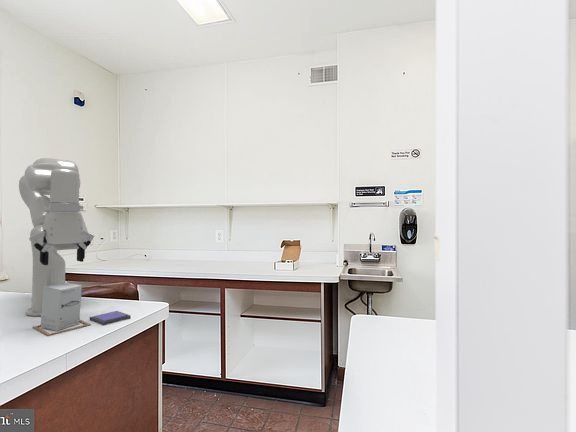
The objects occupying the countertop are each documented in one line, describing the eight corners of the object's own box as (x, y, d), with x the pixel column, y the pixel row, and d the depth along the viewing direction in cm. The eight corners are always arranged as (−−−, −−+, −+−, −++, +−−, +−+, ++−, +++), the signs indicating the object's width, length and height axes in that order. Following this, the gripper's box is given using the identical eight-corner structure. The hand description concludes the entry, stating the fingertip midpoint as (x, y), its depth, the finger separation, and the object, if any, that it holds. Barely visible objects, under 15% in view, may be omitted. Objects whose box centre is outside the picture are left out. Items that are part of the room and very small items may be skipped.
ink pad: (89, 320, 105) (89, 316, 105) (116, 313, 113) (116, 310, 113) (103, 325, 100) (103, 321, 100) (130, 318, 108) (130, 314, 108)
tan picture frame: (32, 328, 97) (32, 326, 97) (74, 318, 107) (74, 317, 107) (47, 336, 91) (47, 334, 91) (90, 325, 100) (90, 324, 100)
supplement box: (57, 331, 95) (59, 289, 94) (39, 327, 97) (42, 286, 97) (80, 323, 102) (82, 285, 101) (63, 319, 104) (65, 281, 104)
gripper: (88, 209, 108) (87, 258, 108) (25, 207, 94) (24, 264, 94) (99, 209, 104) (98, 261, 104) (35, 207, 90) (34, 267, 90)
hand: (63, 262), depth 99 cm, fingers open, 9 cm apart
